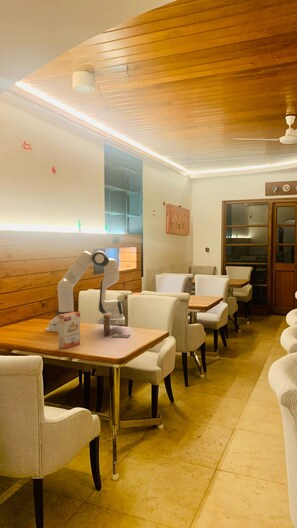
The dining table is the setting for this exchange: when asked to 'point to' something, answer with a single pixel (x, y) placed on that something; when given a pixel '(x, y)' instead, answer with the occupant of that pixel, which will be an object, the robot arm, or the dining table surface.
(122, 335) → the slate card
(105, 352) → the dining table surface
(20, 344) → the dining table surface
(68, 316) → the cracker box
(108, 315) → the walnut tube
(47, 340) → the dining table surface
